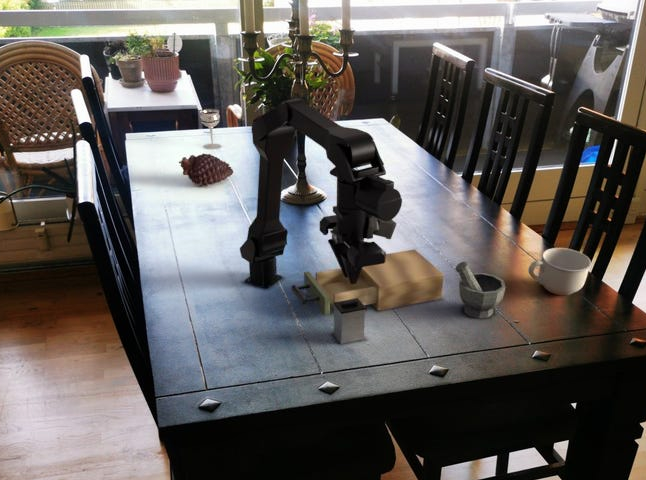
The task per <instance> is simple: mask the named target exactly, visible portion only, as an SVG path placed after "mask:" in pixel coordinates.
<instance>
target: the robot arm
mask: <svg viewBox="0 0 646 480" xmlns="http://www.w3.org/2000/svg"><path fill="white" fill-rule="evenodd" d="M297 131H299V132H300V133H301V134H302V135H304V136H306V137H307V138H309V139H310V140H311V141H312V142H314V143H316V144H317V145H319V146H320V147H321V148H323V149H324V150H325V154H326V158H327V159H328V160H329V162H330V163H331V164H332V165H333V166H334V167H333V168H332V169H331V170H329V174H330V176H333V177H335V178H336V205H333V206H332V212H333V214H334V215H333V214H332V215H326V216H323V217H322V218H321V219H320V220H319V232H320V233H321V234H322V235H323V236H327V235H328V234H329V232H330V233H331V238H330V239H327V243H328V244H329V246H330V248H331V251H332V252H333V255H334V257H335V259H336V261H337V263H338V266H339V269H341V270H342V272H343V275H344V277H348V278H349V281H350V283H351V284H356V283H357V280H358V278H359V275H360V272H361V270H362V267H366V266H372V265H378V264H384V263H385V262H386V254H387V252H386V250H384V249H383V248H382V247H381V246H380V245H379V244H378V243H377V242H376V241H365V239H366V240H370V239H371V240H372V239H374V236H376V237H381V238H385V239H386V240H392V237H393V235H394V232H395V229H396V227H397V225H398V224H397V222H395V220H393V219H395V218H396V217H397V215H398V214H399V213H400V211H401V208H402V204H403V198H402V195H401V193H400V191H399V190H398V189H397V188H395V181H393V180H391V179H386V178H384V177H382V176H385V175H386V174H387V171H386V169H385V166H384V165H385V163H384V161H383V159H382V157H381V155H380V153H379V150H378V147H377V144H376V142H375V140H374V137H373V136H372V135H371V134H370V133H369V132H367V131H364V130H361V129H358V128H355V127H346V126H343V125H340V124H339V123H337V122H335V121H334V120H332V119H331V118H329V117H328V116H326V115H324V114H323V113H321V112H320V111H318V110H317V109H315V108H314V107H312V106H311V105H309V104H308V102H307V101H306V100H305V99H302V98H295V99H290V100H284V101H282V102H280V103H279V104H278V105H277V106H276V107H274V108H273V109H270V110H269V111H267V112H265V113H263V114H262V115H257V116H256V117H255V118H253V120H252V124H251V136H252V144H253V146H254V147H255V150H256V151H257V152H258V155H259V162H258V163H259V166H258V183H257V203H256V216H255V218H254V219H253V221H252V222H251V224H250V225H249V226H248V230H247V237H246V240H245V241H244V242H243V243H242V245H241V246H240V247H239V252H240V256H241V258H242V259H244V261H246V262H248V268H249V276H248V277H246V278H245V279H244V283H246V284H250V285H253V286H257V287H260V288H263V289H269V288H270V287H272V286H273V285H274V284H276V283H277V282H279V281H280V280H281V279H283V275H281V274H277V273H278V272H277V257H278V256H283V255H284V252H285V248H286V245H288V234H289V231H288V229H287V228H286V227H285V226H284V224H283V223H282V221H281V219H280V216H281V201H282V187H283V179H284V178H283V177H284V164H285V158H286V157H287V155H288V153H289V152H290V150H291V149H292V148H293V145H294V141H295V136H296V132H297ZM369 165H370V166H369ZM366 166H369V167H366ZM361 167H365V168H361ZM357 168H361V169H357ZM329 230H330V231H329Z"/></svg>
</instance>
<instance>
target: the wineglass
mask: <svg viewBox="0 0 646 480" xmlns="http://www.w3.org/2000/svg"><path fill="white" fill-rule="evenodd" d="M199 113H200V115H199V120H200V122H201V124H203V125H204V126H205V127H207V128H208V129H209V133H210V141H211V144H207V145H205V148H206V149H211V150H215V149H218V148H220V147H221V146H220V145H219V144H216V143H215V144H214V141H213V140H214V139H213V129H214V127H216V126H217V125H218V124H219V123H220V121H221V116H220V110H219V109H215V108H206V109H202V110H200V111H199Z"/></svg>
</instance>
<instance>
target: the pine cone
mask: <svg viewBox="0 0 646 480" xmlns="http://www.w3.org/2000/svg"><path fill="white" fill-rule="evenodd" d="M178 164H180V167H181V168H182V175H183V176H187V178H188V179H189V180H190V181H191V182H192V183H193V184H194V185H196V186H199V187H203V186H204V187H208V186H209V185H211V186H212V185H213V184H216V183H221V182H222V181H225V180H227V179H228V178H230V177H231V176H233V174H234V169H233V168H232V167H231V166H230V163H228V162H226V161H224V160H221V159H220V158H218V157H217V156H214V155H212V154H210V153H208V154H207V153H202V154H198V155H197V156H195V154H191V155H189V157H188V158H187V156H183V157H182V159H181V160H179V161H178Z"/></svg>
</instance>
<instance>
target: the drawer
mask: <svg viewBox="0 0 646 480" xmlns="http://www.w3.org/2000/svg"><path fill="white" fill-rule="evenodd" d="M290 289H291V291H292V293H293V294H294V295H295V296H296V298H297V299H298V301H299V302H300V303H301V305H302V306H306V305H307V304H308V303H311V302H314V304H315V305H316V307H317V308H318V309H319V310H320V312H321V313H322V314H323V316H330V315H331V308H332V309H333V310H334V302H339V301H344V300H350V299H355V298H358V299H359V300H360V302H361V303H362V304H363V305H364V306H368V305H373V304H374V303H377V293H378V287H377V286H376V285H375V284H374V283H373V282H372V281H371V280H370V279H369V278H368V277H367V276H366V275H365V274H364V273H363V272H362V270H361V272H360V275H359V278H358V280H357V283H356V284H351V283H350V281H349V278H348V277H344V275H343V272H342V270H341V268H336V269H329V270H324V271H323V270H322V271H317V272H315V276H314V275H313V274H312V273H311V272H310V271H304V272H303V285H296V284H292V285H291V287H290ZM301 290H304V291H305V292H306V294H307V295H308V296H309V297H308V298H307V297H306V296H305V295H304V293H303V292H302V291H301Z"/></svg>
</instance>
